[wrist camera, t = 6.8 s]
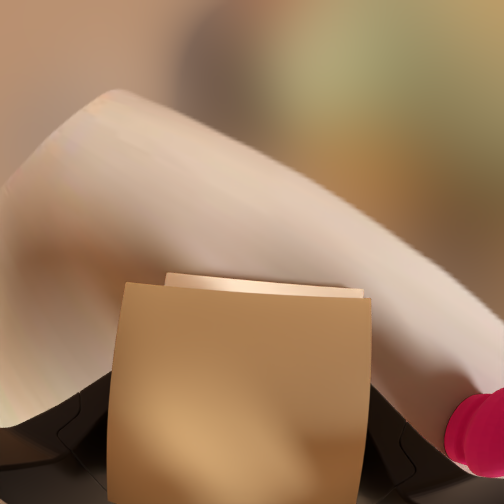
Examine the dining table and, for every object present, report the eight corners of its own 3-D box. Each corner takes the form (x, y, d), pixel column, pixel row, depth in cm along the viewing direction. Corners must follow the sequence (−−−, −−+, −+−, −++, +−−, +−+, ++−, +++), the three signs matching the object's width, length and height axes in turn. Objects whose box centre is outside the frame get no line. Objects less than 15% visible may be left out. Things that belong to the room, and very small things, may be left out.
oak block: (294, 434, 14) (350, 528, 4) (203, 426, 14) (107, 500, 4) (301, 347, 16) (370, 298, 6) (210, 341, 16) (125, 281, 6)
